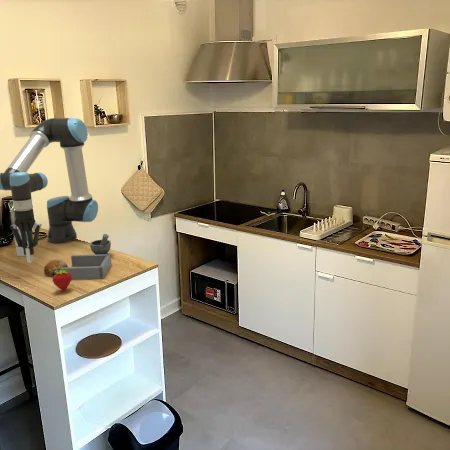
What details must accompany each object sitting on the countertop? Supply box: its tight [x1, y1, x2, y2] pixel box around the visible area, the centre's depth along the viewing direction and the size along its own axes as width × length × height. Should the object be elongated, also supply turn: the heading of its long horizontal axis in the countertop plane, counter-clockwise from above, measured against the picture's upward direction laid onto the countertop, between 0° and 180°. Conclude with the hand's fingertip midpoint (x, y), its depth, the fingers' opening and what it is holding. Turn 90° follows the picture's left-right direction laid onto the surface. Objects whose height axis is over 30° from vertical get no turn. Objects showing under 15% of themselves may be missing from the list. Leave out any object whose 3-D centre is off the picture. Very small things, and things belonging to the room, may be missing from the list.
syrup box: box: [13, 227, 29, 257], centre depth 224 cm, size 6×6×14 cm
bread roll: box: [43, 258, 69, 278], centre depth 202 cm, size 10×10×8 cm
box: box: [61, 253, 112, 281], centre depth 202 cm, size 17×18×5 cm
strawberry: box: [52, 270, 72, 292], centre depth 182 cm, size 6×8×10 cm
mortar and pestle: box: [89, 233, 112, 255], centre depth 220 cm, size 11×9×12 cm
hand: (30, 261), depth 200 cm, fingers closed
